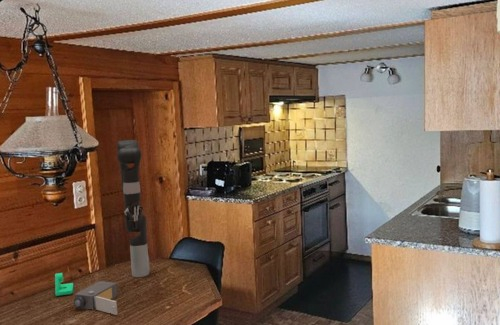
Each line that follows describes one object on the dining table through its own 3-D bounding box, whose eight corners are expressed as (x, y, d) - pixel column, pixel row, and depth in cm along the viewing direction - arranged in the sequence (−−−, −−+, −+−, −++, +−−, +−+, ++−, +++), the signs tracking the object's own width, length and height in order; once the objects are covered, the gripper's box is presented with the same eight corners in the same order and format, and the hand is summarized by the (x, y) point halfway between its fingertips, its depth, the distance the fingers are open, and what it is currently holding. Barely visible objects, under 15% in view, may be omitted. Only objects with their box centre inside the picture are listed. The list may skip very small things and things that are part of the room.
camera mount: (72, 295, 244) (70, 275, 243) (55, 298, 242) (54, 277, 241) (73, 287, 255) (72, 268, 254) (57, 289, 253) (56, 270, 252)
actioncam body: (100, 293, 244) (99, 279, 244) (118, 295, 241) (117, 281, 240) (71, 310, 225) (70, 294, 225) (90, 312, 222) (88, 296, 221)
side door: (117, 314, 218) (116, 301, 217) (113, 316, 216) (112, 302, 215) (96, 308, 226) (95, 295, 225) (92, 310, 224) (91, 297, 223)
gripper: (133, 189, 234) (135, 225, 235) (116, 194, 221) (118, 232, 223) (147, 189, 231) (149, 226, 233) (130, 194, 219) (132, 232, 220)
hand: (134, 228), depth 228 cm, fingers closed
